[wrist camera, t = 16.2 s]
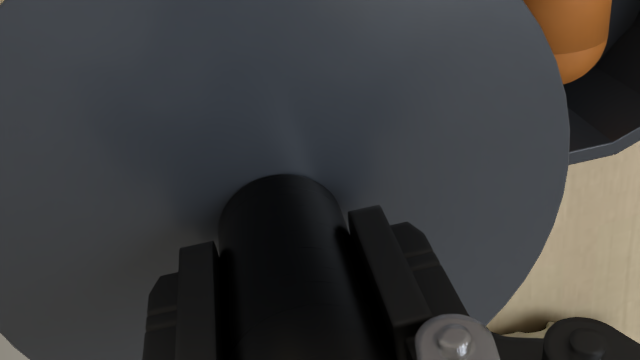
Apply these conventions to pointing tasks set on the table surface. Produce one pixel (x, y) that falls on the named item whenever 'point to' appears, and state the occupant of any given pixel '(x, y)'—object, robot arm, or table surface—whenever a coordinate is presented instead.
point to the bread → (573, 32)
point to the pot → (608, 92)
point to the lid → (266, 162)
